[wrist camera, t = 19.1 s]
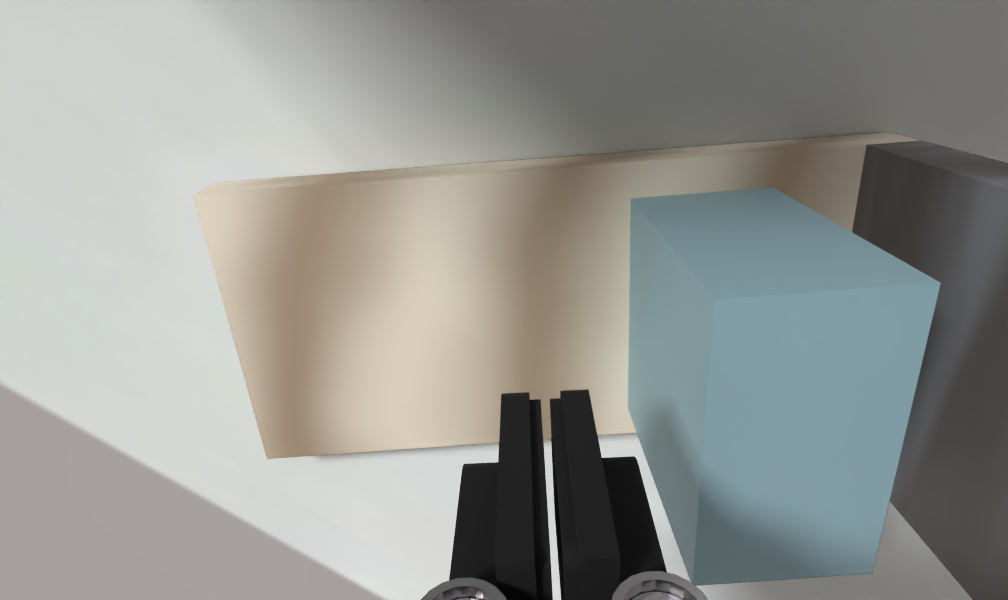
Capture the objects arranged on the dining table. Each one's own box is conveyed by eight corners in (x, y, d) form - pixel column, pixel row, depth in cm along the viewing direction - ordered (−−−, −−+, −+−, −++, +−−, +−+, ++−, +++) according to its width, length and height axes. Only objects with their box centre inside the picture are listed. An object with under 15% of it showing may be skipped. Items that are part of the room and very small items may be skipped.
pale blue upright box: (773, 187, 17) (941, 282, 11) (750, 399, 20) (872, 573, 14) (630, 198, 17) (713, 299, 11) (628, 408, 20) (692, 585, 14)
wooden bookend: (888, 132, 18) (1435, 276, 8) (842, 391, 22) (1169, 730, 11) (215, 182, 18) (-151, 392, 8) (280, 431, 22) (91, 802, 12)
